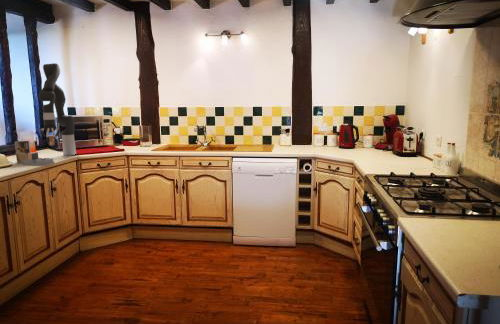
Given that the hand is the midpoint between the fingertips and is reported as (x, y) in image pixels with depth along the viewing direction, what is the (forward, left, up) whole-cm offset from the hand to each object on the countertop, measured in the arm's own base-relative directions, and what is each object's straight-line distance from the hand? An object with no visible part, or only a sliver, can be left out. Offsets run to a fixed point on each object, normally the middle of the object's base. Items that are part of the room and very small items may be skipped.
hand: (51, 141), depth 277 cm
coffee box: (+7, -19, -15) cm, 25 cm away
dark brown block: (0, 0, -2) cm, 2 cm away
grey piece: (+9, -4, -15) cm, 18 cm away
